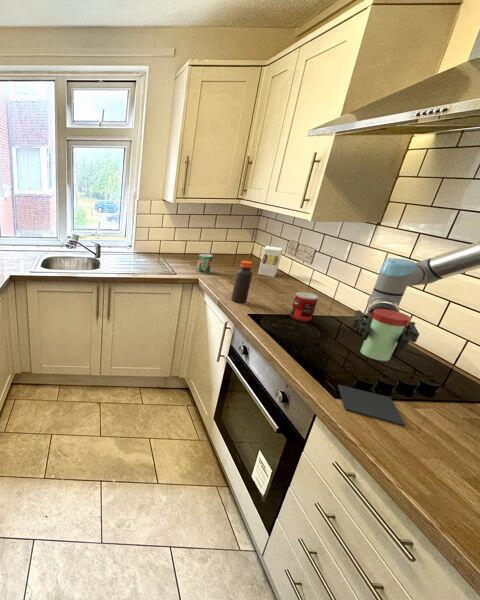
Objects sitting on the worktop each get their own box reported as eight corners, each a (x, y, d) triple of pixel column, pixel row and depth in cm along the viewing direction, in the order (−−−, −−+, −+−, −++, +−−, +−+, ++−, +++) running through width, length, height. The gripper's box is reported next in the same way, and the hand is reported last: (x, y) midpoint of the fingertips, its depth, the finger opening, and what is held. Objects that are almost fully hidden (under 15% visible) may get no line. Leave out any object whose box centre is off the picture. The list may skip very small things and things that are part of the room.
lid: (403, 317, 88) (405, 312, 88) (413, 328, 82) (415, 322, 81) (368, 312, 92) (370, 306, 91) (375, 322, 86) (377, 316, 85)
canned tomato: (212, 273, 199) (215, 256, 195) (200, 273, 198) (203, 256, 194) (205, 269, 206) (208, 253, 202) (194, 270, 205) (197, 253, 201)
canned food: (293, 312, 144) (299, 290, 140) (313, 318, 138) (321, 295, 134) (286, 317, 140) (293, 294, 135) (307, 323, 134) (315, 299, 130)
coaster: (389, 399, 90) (390, 397, 89) (404, 426, 80) (405, 424, 80) (337, 386, 95) (338, 384, 95) (345, 410, 85) (346, 408, 85)
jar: (386, 352, 92) (403, 313, 88) (393, 363, 87) (411, 323, 82) (357, 346, 95) (372, 309, 91) (362, 356, 90) (378, 317, 85)
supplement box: (257, 274, 197) (263, 248, 191) (259, 271, 204) (265, 245, 198) (274, 277, 192) (281, 250, 186) (276, 273, 199) (283, 247, 193)
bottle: (231, 302, 156) (239, 262, 148) (231, 297, 161) (239, 259, 154) (246, 304, 153) (255, 264, 145) (246, 299, 159) (254, 261, 151)
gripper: (421, 333, 96) (429, 365, 80) (341, 315, 108) (334, 340, 92) (431, 311, 94) (442, 339, 78) (348, 295, 106) (342, 317, 90)
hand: (384, 340), depth 85 cm, fingers closed on jar, 7 cm apart
